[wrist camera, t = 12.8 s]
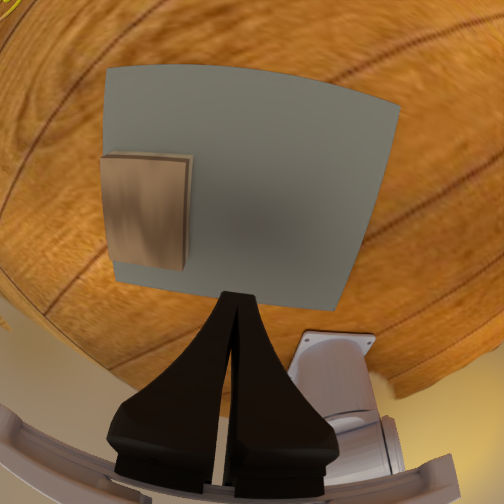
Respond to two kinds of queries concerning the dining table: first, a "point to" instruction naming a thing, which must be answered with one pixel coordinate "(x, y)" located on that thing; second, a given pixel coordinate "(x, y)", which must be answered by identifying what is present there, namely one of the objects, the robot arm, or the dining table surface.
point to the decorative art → (10, 9)
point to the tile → (147, 207)
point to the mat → (257, 175)
